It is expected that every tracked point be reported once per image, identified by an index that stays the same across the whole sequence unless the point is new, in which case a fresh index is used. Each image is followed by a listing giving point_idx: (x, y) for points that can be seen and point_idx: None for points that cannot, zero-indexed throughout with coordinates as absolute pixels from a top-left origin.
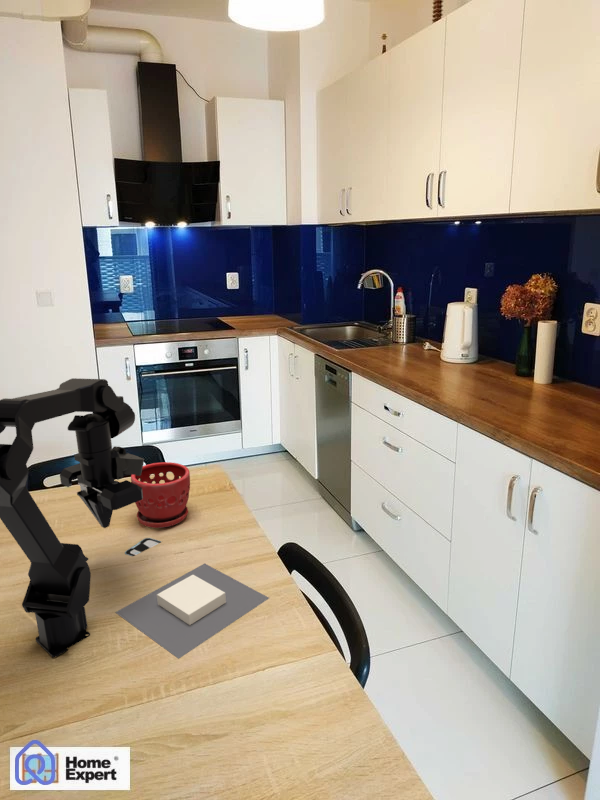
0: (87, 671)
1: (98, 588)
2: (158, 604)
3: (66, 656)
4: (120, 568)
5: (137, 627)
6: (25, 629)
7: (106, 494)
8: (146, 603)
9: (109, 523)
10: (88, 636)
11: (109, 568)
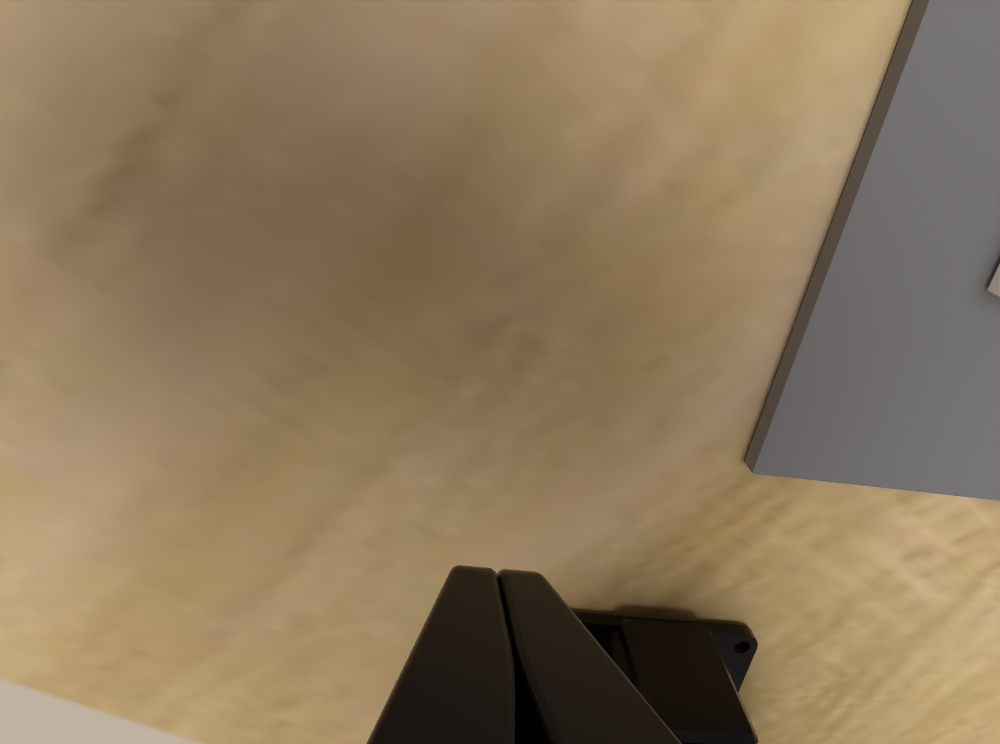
0: (887, 729)
1: (404, 338)
2: (994, 292)
3: None
4: (307, 39)
5: (970, 492)
6: None
7: None
8: (894, 316)
9: (567, 613)
10: (756, 648)
11: (219, 94)
